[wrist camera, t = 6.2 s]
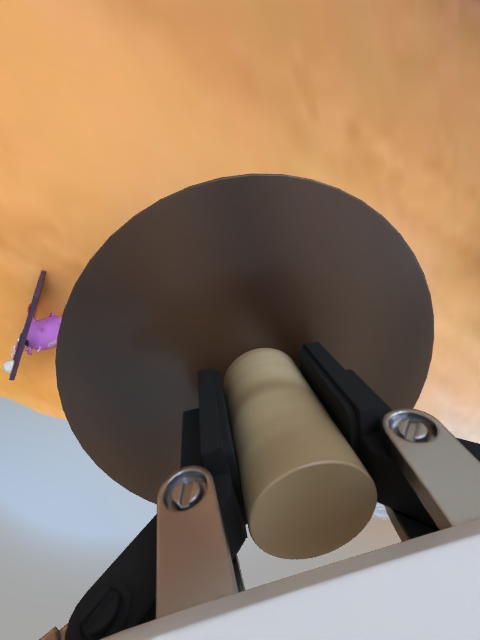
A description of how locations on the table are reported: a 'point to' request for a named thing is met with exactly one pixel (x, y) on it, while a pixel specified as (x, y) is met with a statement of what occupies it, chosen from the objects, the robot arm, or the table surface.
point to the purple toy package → (34, 333)
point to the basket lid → (246, 344)
